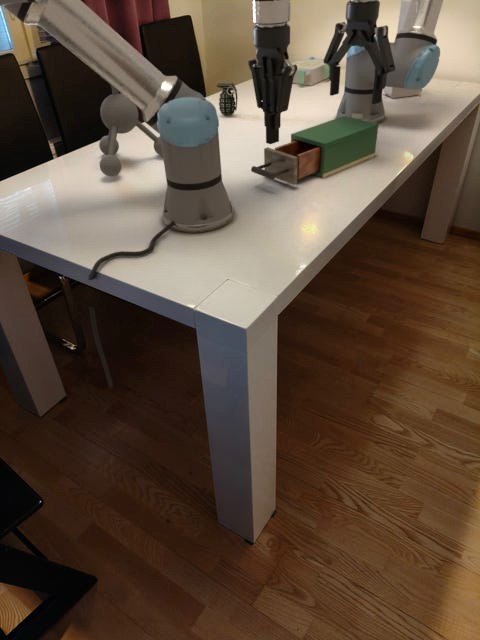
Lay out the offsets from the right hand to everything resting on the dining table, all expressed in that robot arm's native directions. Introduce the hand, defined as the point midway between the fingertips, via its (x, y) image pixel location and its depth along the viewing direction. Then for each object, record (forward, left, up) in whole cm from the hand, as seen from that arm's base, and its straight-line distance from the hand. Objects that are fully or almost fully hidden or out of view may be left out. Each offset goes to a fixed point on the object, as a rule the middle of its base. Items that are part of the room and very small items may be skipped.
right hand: (354, 98), depth 125 cm
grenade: (-29, -48, -14) cm, 57 cm away
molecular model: (+19, -56, -14) cm, 61 cm away
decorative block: (-86, -35, -14) cm, 94 cm away
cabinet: (+6, -3, -14) cm, 16 cm away
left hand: (+26, -14, -4) cm, 29 cm away
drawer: (+18, -10, -13) cm, 24 cm away
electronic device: (-67, +6, -14) cm, 68 cm away
